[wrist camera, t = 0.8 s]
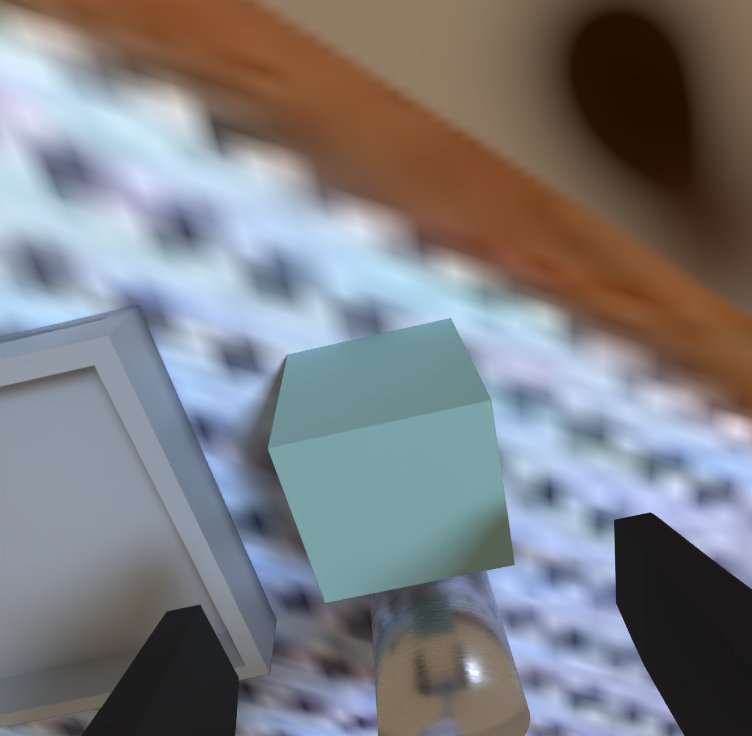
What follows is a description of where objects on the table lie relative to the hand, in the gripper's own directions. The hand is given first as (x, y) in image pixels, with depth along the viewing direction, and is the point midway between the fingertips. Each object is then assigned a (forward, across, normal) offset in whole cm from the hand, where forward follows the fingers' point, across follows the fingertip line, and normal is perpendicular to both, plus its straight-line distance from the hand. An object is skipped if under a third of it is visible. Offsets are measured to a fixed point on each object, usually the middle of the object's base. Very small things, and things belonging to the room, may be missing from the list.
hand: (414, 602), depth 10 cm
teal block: (+7, 0, 0) cm, 7 cm away
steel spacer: (+7, 0, +7) cm, 10 cm away
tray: (+7, +14, +2) cm, 15 cm away
